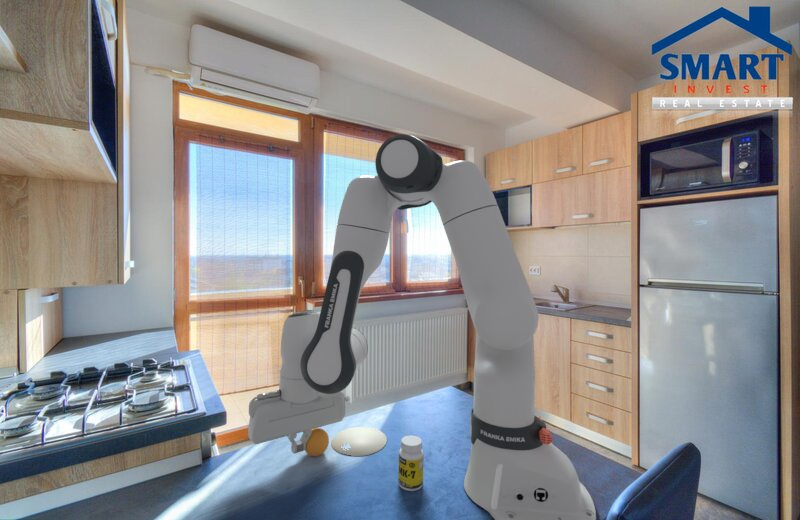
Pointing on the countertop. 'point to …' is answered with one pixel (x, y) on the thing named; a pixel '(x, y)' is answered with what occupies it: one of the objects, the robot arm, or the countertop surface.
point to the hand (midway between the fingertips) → (298, 450)
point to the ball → (317, 442)
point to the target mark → (359, 441)
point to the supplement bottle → (411, 463)
